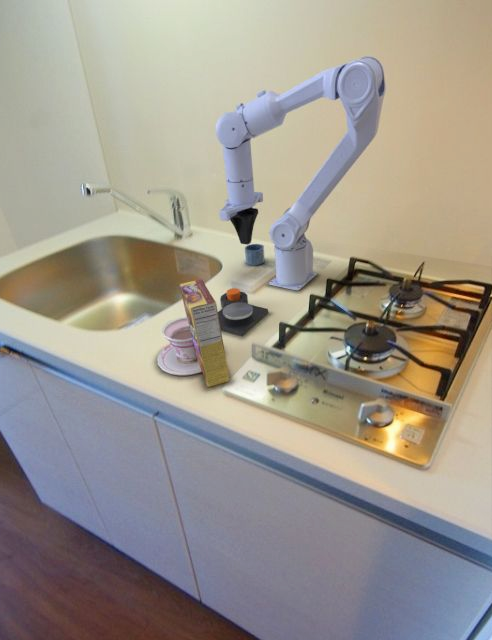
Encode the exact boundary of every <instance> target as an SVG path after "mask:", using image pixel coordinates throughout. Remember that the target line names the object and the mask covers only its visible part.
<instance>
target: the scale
mask: <svg viewBox="0 0 492 640" xmlns="http://www.w3.org/2000/svg"><path fill="white" fill-rule="evenodd" d="M219 300H220V307H221V309H219V311H218V316H219V322H220V328H221V332H223V333H228V334H231V335H235V336H238V337H244V336H245V335H246V334H247V333H249V331H251V330H252V329H253V328H255V326H256V325H257V324H259V323H260V322H261V321H262V320H264V318H265V317H266V316H268V315H269V308H266V307H262V306H259V305H258V306H257V305H254V304H250V305H251V306H252V308H253V313H252V314H251V315H250V316H249V317H247V318H244V319H239V320H233V319H228V318H226V317H225V316H224V315H223V309H224V307H226V306H227V305H229V304H232V303H237V302H243V303H248V304H249V297H248V294H247V293H246V292H245V291H242V290H240V299H239V300H236V301H229V300H228V299H227V292H225V293H223V294H222V295H220V298H219Z"/></svg>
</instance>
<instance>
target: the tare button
mask: <svg viewBox="0 0 492 640" xmlns="http://www.w3.org/2000/svg"><path fill="white" fill-rule="evenodd" d="M240 291H241V290H240V289H239V288H236V287H232V288H229V289H227V290H226V293H227V299H228V300H229V301H236V300H239V299H240Z"/></svg>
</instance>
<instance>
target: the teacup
mask: <svg viewBox="0 0 492 640" xmlns="http://www.w3.org/2000/svg"><path fill="white" fill-rule="evenodd" d="M161 333H162V335H163V336H164V338H165V339H166V340H167V341H168V342H169V344H168V345H166V346H165V347H163V349H162V350H161V351H160V352H158V355H157V358H156V359H157V365H158V367H159V369H161V370H162V371H163V372H165V373H167V374H169V375H175V376H192V375H196V374H200V373H202V370H201V368H200V366H199V363H198V361H197V358H196V353H195V349H194V345H193V339H192V337H191V333H190V328H189V324H188V320H187V316H184V317H178V318H175V319H174V318H173V319H172V320H169V321H168V322H166V323H165V324H164V325H163V326H162V328H161ZM178 358H179V359H182V360H183V361H185V362H193V363H182V362H180V361H179V359H178ZM194 361H195V362H194Z"/></svg>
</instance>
